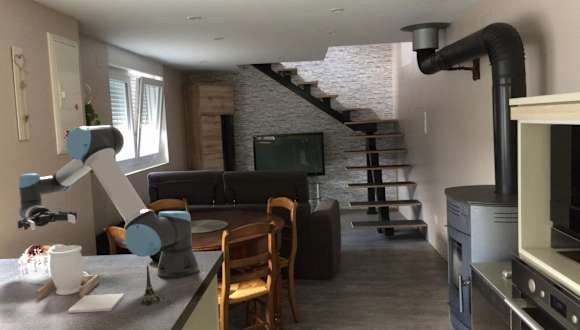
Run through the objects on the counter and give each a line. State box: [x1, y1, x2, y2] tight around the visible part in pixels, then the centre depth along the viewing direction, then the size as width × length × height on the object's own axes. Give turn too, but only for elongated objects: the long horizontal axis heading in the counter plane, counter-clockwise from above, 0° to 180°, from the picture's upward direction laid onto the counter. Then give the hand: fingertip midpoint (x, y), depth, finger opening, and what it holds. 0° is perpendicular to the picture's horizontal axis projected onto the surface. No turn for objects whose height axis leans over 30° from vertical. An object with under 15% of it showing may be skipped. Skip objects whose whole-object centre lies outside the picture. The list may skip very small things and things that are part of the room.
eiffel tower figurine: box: [130, 264, 175, 307], centre depth 160 cm, size 15×10×13 cm
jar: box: [48, 244, 84, 296], centre depth 175 cm, size 11×10×15 cm
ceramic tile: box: [67, 293, 125, 314], centre depth 162 cm, size 13×13×1 cm
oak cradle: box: [36, 274, 101, 300], centre depth 176 cm, size 15×15×3 cm
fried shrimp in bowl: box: [148, 251, 161, 264], centre depth 212 cm, size 9×11×18 cm
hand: (54, 223), depth 181 cm, fingers open, 13 cm apart
